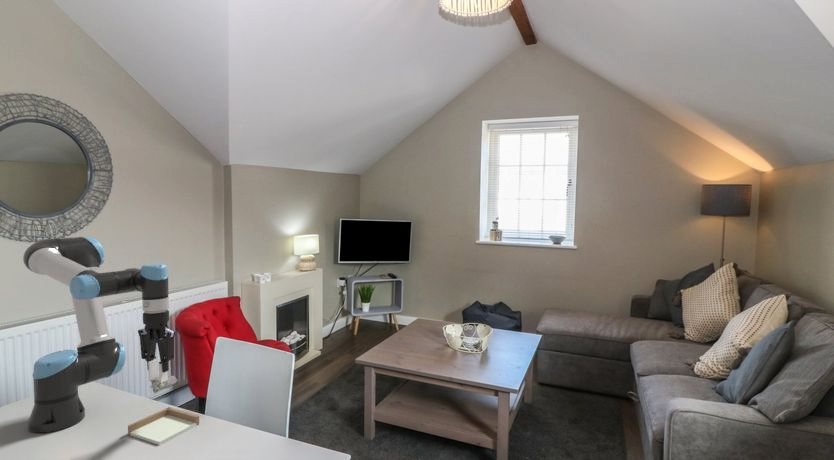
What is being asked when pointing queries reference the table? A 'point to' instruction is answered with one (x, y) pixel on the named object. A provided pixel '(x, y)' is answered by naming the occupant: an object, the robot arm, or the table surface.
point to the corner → (163, 425)
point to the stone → (163, 385)
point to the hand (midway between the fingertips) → (158, 380)
